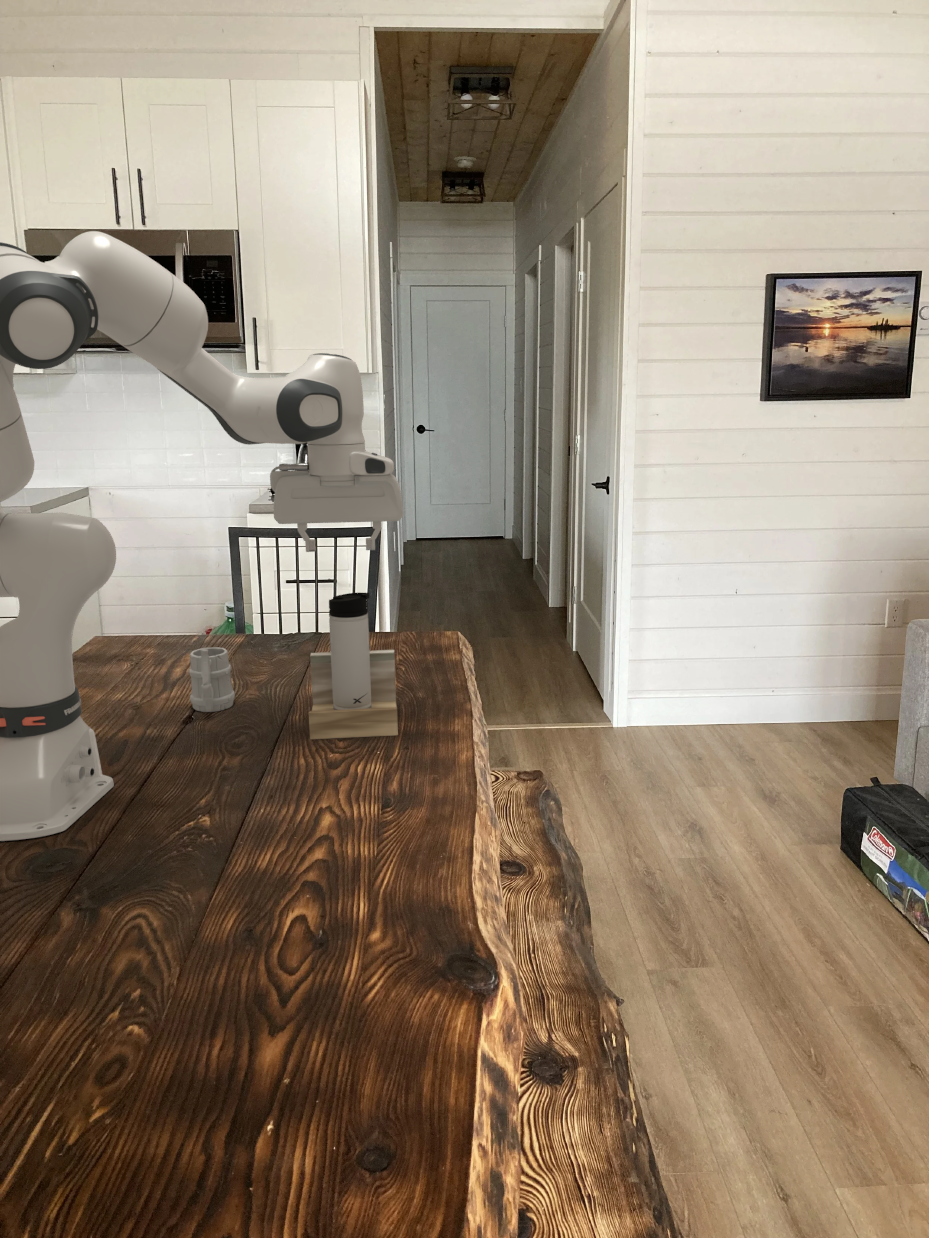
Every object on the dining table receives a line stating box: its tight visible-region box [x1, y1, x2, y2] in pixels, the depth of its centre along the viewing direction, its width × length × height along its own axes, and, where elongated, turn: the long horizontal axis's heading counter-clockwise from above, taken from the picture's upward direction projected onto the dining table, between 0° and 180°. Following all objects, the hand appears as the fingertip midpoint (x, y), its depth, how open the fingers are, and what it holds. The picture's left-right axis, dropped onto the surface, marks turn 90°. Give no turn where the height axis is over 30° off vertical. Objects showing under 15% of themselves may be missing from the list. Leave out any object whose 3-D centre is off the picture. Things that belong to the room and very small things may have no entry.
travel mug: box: [328, 592, 372, 710], centre depth 154 cm, size 6×7×20 cm
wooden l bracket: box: [308, 649, 399, 740], centre depth 156 cm, size 12×14×11 cm
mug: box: [188, 646, 236, 713], centre depth 164 cm, size 8×12×12 cm, turn 9°
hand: (340, 550), depth 150 cm, fingers open, 8 cm apart
